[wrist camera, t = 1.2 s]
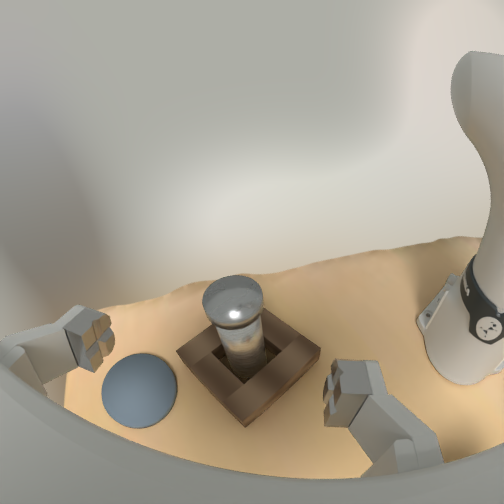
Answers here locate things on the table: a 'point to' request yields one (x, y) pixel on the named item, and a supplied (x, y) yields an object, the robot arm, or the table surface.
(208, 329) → the walnut socket block
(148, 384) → the slate rubber mat
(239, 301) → the steel plug
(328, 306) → the table surface
